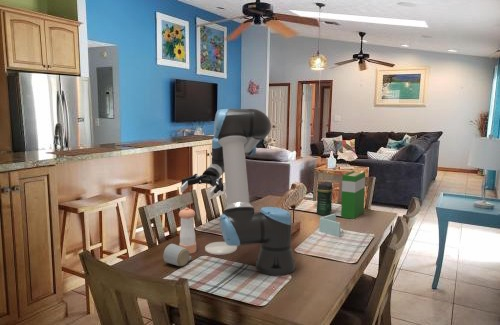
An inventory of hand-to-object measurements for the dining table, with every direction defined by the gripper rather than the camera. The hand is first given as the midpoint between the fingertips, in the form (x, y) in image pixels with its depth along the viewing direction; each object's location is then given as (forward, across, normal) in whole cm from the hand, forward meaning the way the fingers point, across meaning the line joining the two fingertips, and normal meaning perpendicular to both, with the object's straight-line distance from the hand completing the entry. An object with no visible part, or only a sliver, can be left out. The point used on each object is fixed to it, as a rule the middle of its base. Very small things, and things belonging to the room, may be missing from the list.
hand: (195, 192), depth 170 cm
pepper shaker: (+11, -1, -23) cm, 26 cm away
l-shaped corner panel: (-31, -62, -26) cm, 75 cm away
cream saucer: (+5, -14, -23) cm, 27 cm away
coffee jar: (-62, -55, -33) cm, 89 cm away
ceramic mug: (+23, -2, -21) cm, 31 cm away
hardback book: (-65, -71, -32) cm, 101 cm away
